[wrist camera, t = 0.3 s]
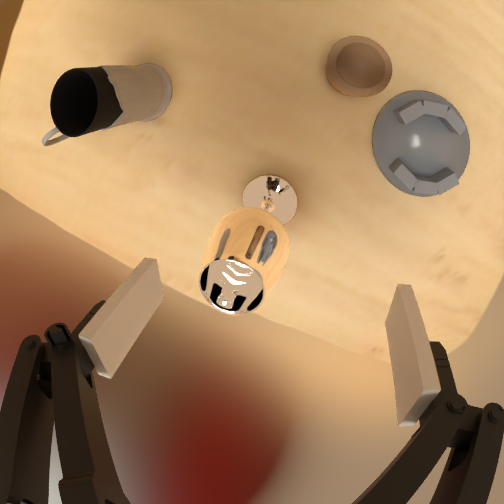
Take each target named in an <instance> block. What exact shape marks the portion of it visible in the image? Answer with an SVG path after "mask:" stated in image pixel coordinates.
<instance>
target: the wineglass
mask: <svg viewBox="0 0 504 504" xmlns="http://www.w3.org/2000/svg"><path fill="white" fill-rule="evenodd" d="M297 203H298V202H297V196H296V193H295V191H294V189H293V187H292V186H291V185H290V184H289V183H288V182H287V181H285V180H284V179H282V178H280V177H277V176H273V175H264V176H260V177H257V178H255V179H253V180H252V181H251V182H250V183H249V184H248V185H247V186H246V188H245V190H244V193H243V207H242V208H239V209H235V210H233V211H231V212H229V213H228V214H227V215H225V216H224V217H223V218H222V219H221V220H220V221H219V222H218V224H217V225H216V227H215V228H214V230H213V232H212V234H211V236H210V239H209V241H208V244H207V247H206V250H205V254H204V258H203V262H202V266H201V271H200V275H199V287H200V290H201V292H202V294H203V296H204V298H205V299H206V300H207V301H208V302H209V303H210V304H211V305H212V306H214V307H215V308H217V309H219V310H221V311H223V312H226V313H229V314H247V313H250V312H252V311H254V310H255V309H257V308H258V307H259V306H260V305H261V304H262V302H263V301H264V299H265V298H266V297H267V295H268V294H269V292H270V291H271V289H272V288H273V286H274V285H275V283H276V281H277V280H278V278H279V277H280V275H281V273H282V271H283V269H284V267H285V264H286V261H287V258H288V254H289V238H288V234H287V232H286V229H285V227H284V226H283V225H284V224H286V223H287V222H288V221H290V220H291V218H292V217H293V216H294V214H295V212H296V209H297Z"/></svg>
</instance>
